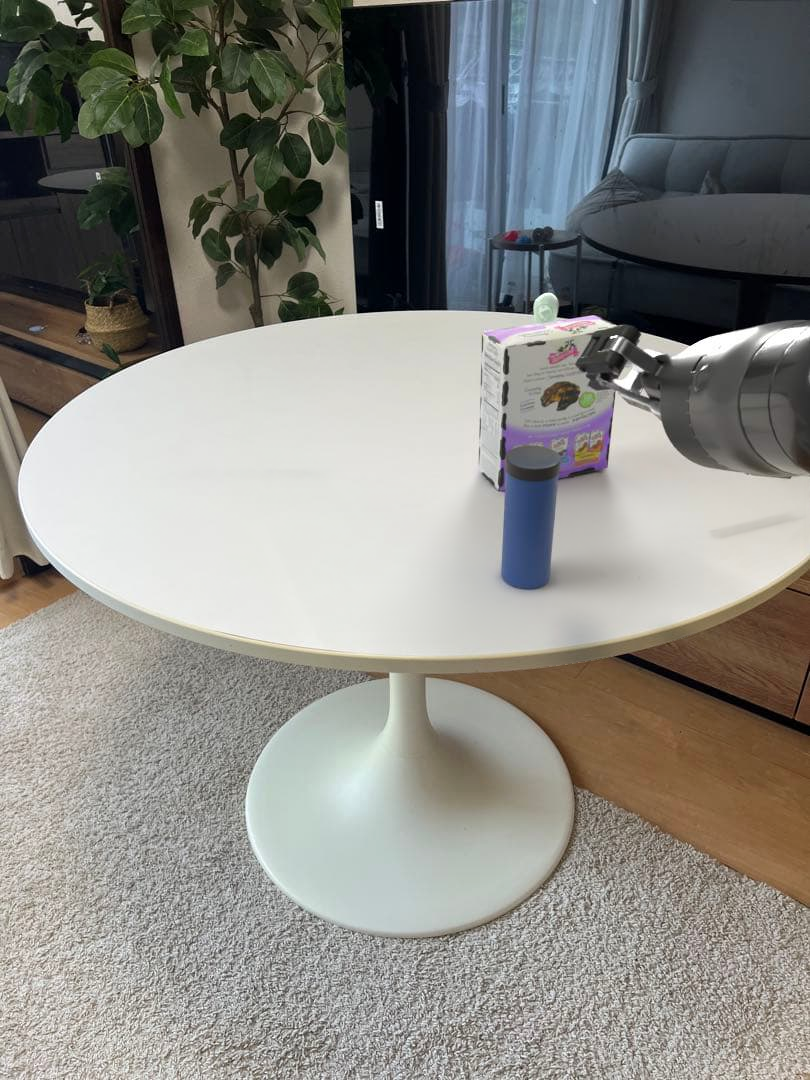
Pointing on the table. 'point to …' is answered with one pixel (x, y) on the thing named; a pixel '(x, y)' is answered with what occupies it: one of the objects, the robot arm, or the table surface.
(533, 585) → the blue cylindrical container
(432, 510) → the table surface
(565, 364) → the candy box
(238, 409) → the table surface
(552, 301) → the robot head
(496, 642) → the table surface
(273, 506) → the table surface
